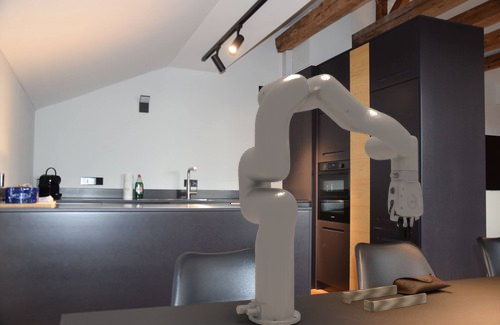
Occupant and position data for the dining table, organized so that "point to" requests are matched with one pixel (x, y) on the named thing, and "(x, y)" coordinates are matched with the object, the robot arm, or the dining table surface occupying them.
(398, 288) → the sunglasses case
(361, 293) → the wooden pieces
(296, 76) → the robot arm
